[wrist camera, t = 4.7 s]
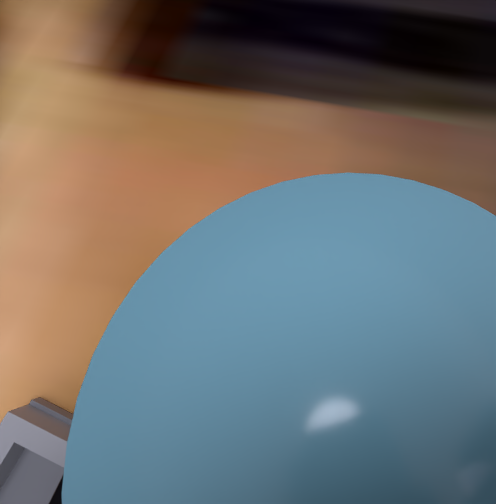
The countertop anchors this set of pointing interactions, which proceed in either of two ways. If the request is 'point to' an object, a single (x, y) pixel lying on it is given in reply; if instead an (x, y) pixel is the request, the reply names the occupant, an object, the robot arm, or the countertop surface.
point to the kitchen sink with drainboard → (33, 452)
